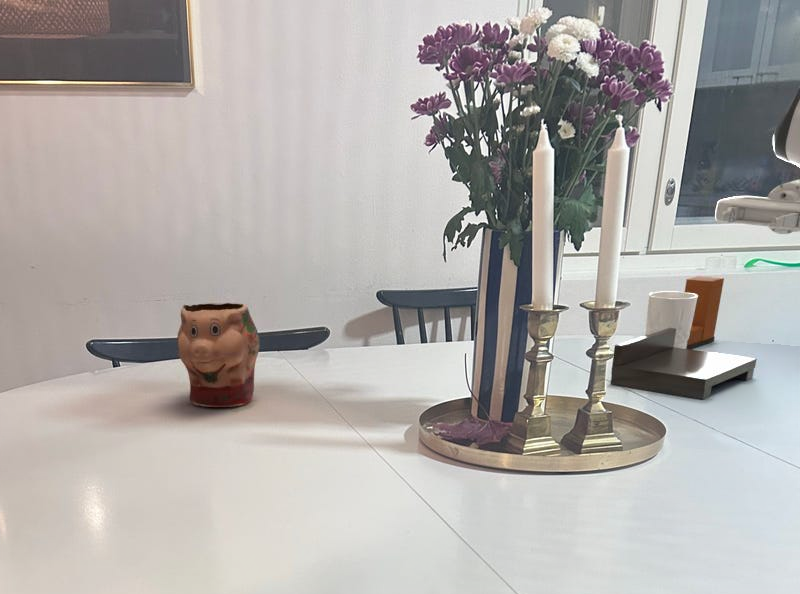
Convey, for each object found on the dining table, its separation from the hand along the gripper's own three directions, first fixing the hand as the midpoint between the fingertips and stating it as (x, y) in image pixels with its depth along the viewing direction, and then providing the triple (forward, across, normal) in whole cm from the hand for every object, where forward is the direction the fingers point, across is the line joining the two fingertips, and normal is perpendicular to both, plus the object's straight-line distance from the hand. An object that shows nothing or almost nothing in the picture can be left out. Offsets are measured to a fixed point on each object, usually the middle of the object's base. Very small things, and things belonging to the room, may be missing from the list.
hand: (749, 220), depth 168 cm
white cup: (+25, +2, +18) cm, 31 cm away
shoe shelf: (+39, +15, +16) cm, 45 cm away
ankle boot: (+14, 0, +19) cm, 23 cm away
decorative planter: (+99, -26, +12) cm, 103 cm away
